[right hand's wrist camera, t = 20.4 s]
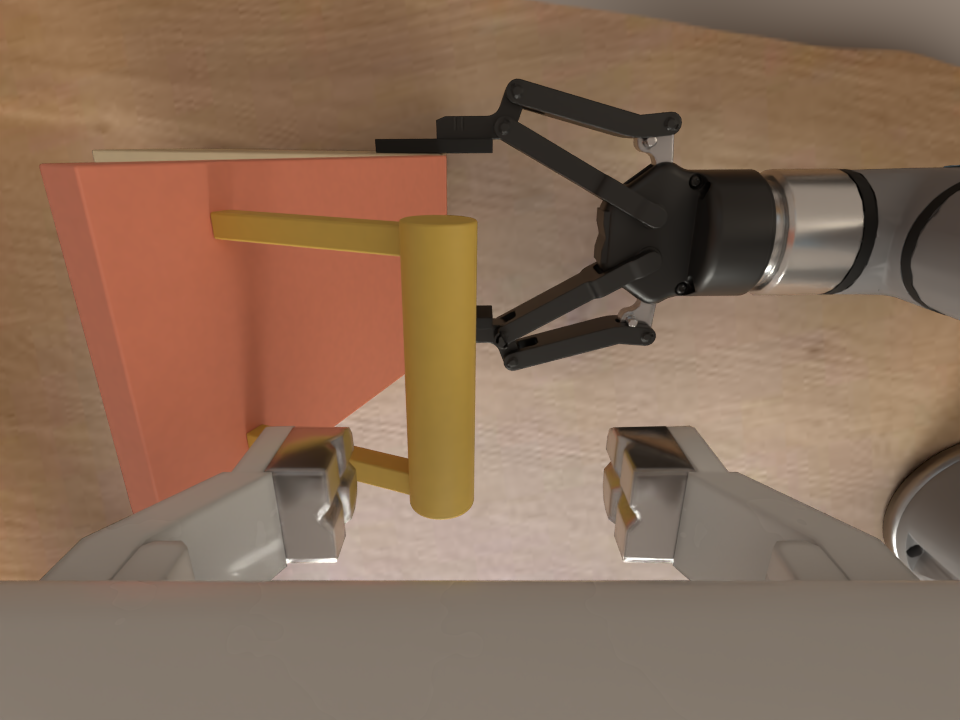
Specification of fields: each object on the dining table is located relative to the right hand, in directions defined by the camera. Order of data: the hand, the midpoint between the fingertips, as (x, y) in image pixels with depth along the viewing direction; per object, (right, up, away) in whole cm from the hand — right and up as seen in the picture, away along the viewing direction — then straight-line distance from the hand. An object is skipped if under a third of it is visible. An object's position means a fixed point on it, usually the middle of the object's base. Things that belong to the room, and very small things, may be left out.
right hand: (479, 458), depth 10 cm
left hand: (-6, +9, +23) cm, 26 cm away
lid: (-6, +4, +10) cm, 13 cm away
